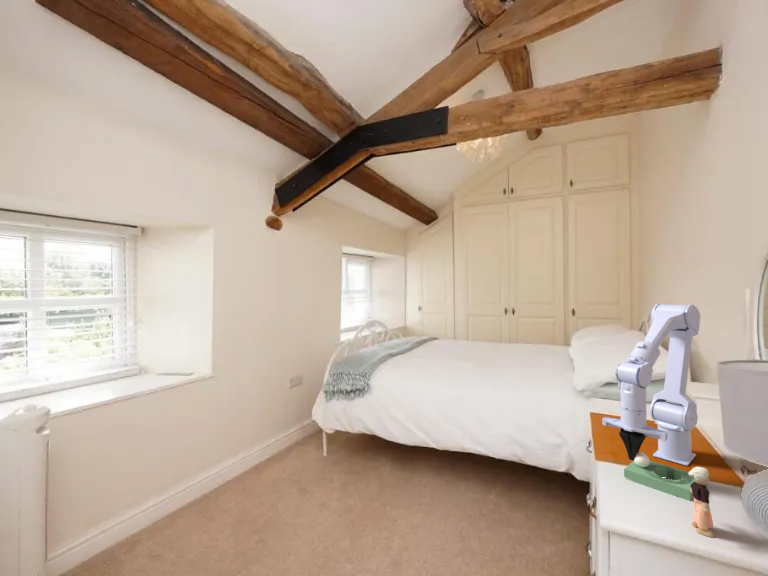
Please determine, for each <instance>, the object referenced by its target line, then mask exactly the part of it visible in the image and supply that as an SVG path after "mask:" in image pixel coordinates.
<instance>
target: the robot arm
mask: <svg viewBox="0 0 768 576" xmlns="http://www.w3.org/2000/svg"><path fill="white" fill-rule="evenodd" d="M700 313H701V312H700V311H699V309H698V307H697V306H696V305H695V304H666V303H664V304H663V303H656V304H655V305H654V306H653V308H652V309H651V315H650V316H651V321H652V322H651V325H650V327H649V329H648V332H647V333H646V336H645V338H644V341H638V342H637V343H636V345H635V346H634V348H633V349H632V351H631V353H630V354H629V356H628V357H627V359H626V361H623V362H621V363H618V365H617V367H616V368H615V369H616V370H615V373H614V375H615V378H616V381H617V387H618V389H619V390H620V419H619V418H612V417H608V416H603V417H602V421H601V422H602V426H605V427H606V426H609V427H611V428H612V427H613V428H616V429H620V431H619V432H618V435H619V437H620V438H621V439H620V440H622V442H623V445H624V447H625V450H626V452H627V457H628V460H629V461H631V462H632V461H634V459H635V455H636V453H638V452H640V449H641V446H642V445H643V442H644V441H645V440H646V438H647V437H650V438H653V439H657V450H656V451H655V452H654V453H653V455H652V456H653V457H656V458H659V459H662V460H665V461H670V462H674V463H676V464H680V465H683V466H686V467H687V466H689V465H690V464H691V462H692V461H693V460H694V458H695V457H697V454H696V453H694V452H692V433H691V430H693V429H694V428H696V426H697V424H698V419H699V418H698V413H697V410H698V409H697V403H696V402H695V401H694V400H693V399H691V397H689V396H688V395H687V394H686V392H687V383H688V376H689V366H690V359H691V352H692V344H693V343H692V341H693V337H695V336H697V335H699V331H700V325H701V323H700V322H701V314H700ZM667 337H669V346H668V354H667V362H666V371H665V378H664V385H663V390H661V391H658V392H657V393H656V392H655V393H654V394H653V397H652V401H651V403H650V405H649V414H650V418H651V419H652V420H653V421H654V424H656V425H657V428H655V427H653V426H650V425H647V387H648V386H649V385H650V384H651V383H652V377H653V372H654V369H653V367H654V366H655V365H656V362H657V360H658V359H659V357H660V356H661V350H660V349H659V348H660V346H661V345H662V343H663V342H664V340H665V339H666V338H667Z"/></svg>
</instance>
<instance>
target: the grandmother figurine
mask: <svg viewBox="0 0 768 576" xmlns="http://www.w3.org/2000/svg"><path fill="white" fill-rule="evenodd" d="M688 472H689V473H688V474H689V475H690V476H692V477H693V479H694V481H695V482H693V483H692V484H691V485H690V487H691V490H690V492H691V493H692V494H693V497H692V498H693V506H694V514H693V515H694V516H693V517H694V518H693V521H691V525H692V527H695V528H696V530H695V531H696V533H698V534H700V535H703V536H706V537H709V538H714V537H715V533H714V532H713V530H711V529H713V528H714V523H713V522H714V521H713V515H712V512H711V508H710V507H711V506H710V499H709V498H710V491H709V489H708V487H707V485H708V484H710V478H709V476H710V475H709V473H710V472H709V470H708V469H707V468H705V467H702V466H695V467H693V468H692V469H691V470H689V471H688Z"/></svg>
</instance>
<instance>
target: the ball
mask: <svg viewBox="0 0 768 576" xmlns="http://www.w3.org/2000/svg"><path fill="white" fill-rule="evenodd" d="M650 461H651V460H650V458H649V456H648V455H647V454H646V453H644V452H640V451H639V452H638V453H636V455H635V459H634V463H635V464H636V465H637V466H639V467H647V466H648V465H649V462H650Z"/></svg>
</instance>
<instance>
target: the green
mask: <svg viewBox="0 0 768 576" xmlns="http://www.w3.org/2000/svg"><path fill="white" fill-rule="evenodd" d="M649 461H650V462H649V465H648V466H647V467H639V466H637V465H636V464H635V463H634V461H632V460H631V462H630V463H629V464H628V465H627V466H626V467H624V468H623V476H624V477H626V478H629V479H631V480H633V481H632V482H634V481H635V482H634V483H637V484H641V485H643V486H645V487H648V488H649V487H650V488H651V489H654V490H658V491H660V492H662V493H663V492H664V493H667V494H669V495H671V496H672V495H673V496H675V497H678V498H681V499H684V500H686V501H689V502H690V501H691V500H692V499H693V498H694V497H693V494H692V493H691V492H690V490H691V487H690V485H691V484H692V483H693V482H695V481H694V479H693V477H692V476H690V475H689V474H688V473H689V472H690V471H686V470H683V469H679V468H677V467H672V466H669V465H665V464H663V463H659V462H655V461H652V460H649ZM624 477H623V478H624ZM662 477H666V478H662ZM667 478H670V479H672V480H670V479H667ZM631 480H630V481H631Z"/></svg>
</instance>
